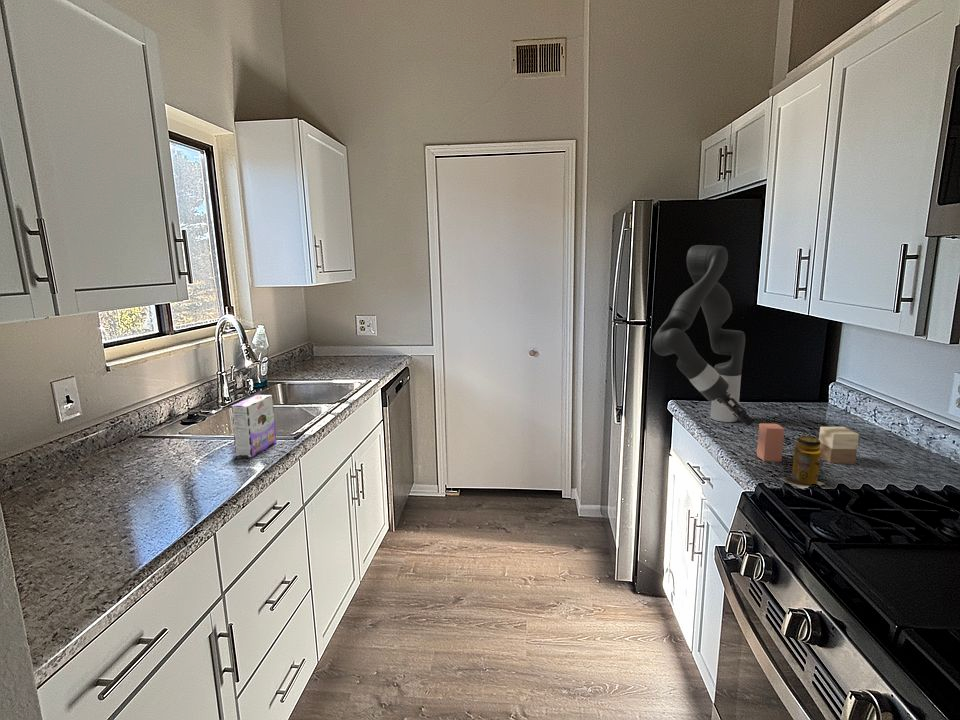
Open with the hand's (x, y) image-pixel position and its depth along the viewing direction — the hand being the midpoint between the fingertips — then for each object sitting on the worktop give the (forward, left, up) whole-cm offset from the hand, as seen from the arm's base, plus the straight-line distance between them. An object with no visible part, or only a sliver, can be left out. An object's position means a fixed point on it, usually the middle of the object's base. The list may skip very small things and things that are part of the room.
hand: (745, 419), depth 161 cm
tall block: (-3, +7, -12) cm, 14 cm away
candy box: (+53, -141, -12) cm, 151 cm away
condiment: (+13, +14, -12) cm, 23 cm away
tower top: (-10, +25, -8) cm, 28 cm away
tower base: (-10, +25, -12) cm, 30 cm away
